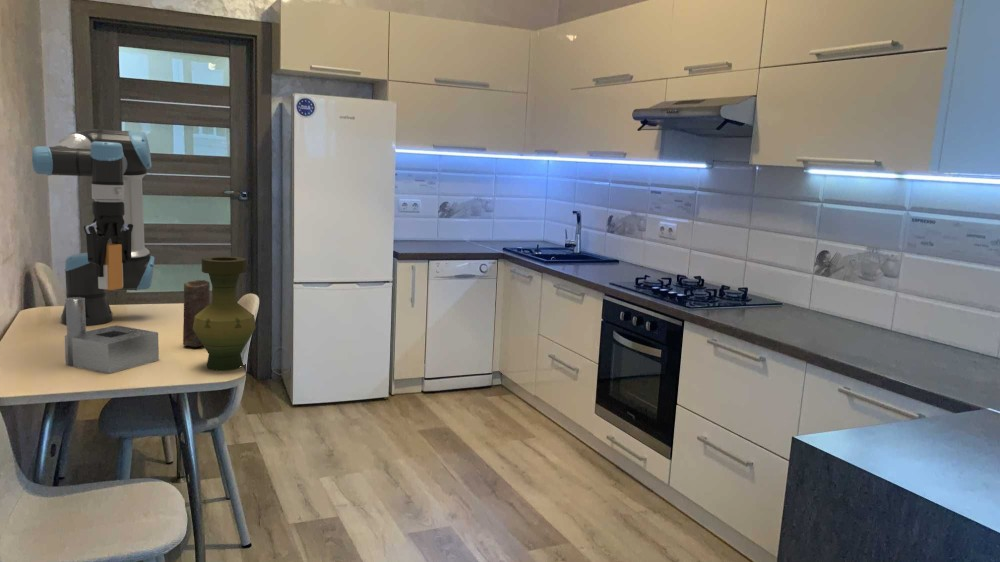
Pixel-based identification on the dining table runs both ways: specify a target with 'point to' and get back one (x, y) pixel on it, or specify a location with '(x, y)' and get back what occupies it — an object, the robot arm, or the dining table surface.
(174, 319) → the dining table surface
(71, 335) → the grey block with cylinder
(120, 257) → the orange rectangular block
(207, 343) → the vase
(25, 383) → the dining table surface
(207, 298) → the candle
